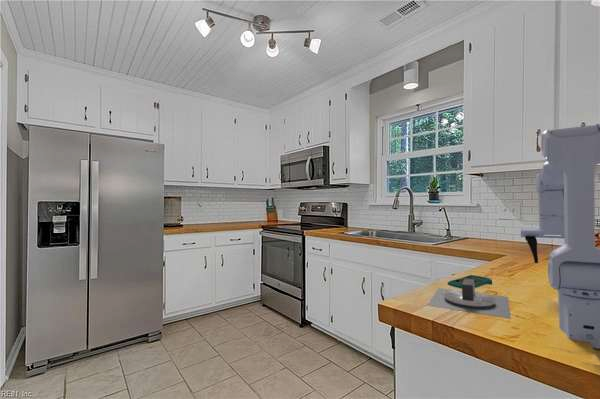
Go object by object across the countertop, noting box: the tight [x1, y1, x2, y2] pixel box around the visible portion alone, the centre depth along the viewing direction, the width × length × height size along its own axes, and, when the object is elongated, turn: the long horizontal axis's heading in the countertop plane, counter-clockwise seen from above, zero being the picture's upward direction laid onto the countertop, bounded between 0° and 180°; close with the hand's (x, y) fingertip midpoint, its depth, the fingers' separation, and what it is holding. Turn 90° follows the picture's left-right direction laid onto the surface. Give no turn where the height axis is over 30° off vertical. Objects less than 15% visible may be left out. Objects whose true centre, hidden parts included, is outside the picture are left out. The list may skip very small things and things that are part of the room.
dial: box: [444, 278, 495, 308], centre depth 82 cm, size 12×12×5 cm
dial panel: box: [427, 287, 512, 320], centre depth 82 cm, size 18×18×1 cm
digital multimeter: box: [447, 274, 493, 289], centre depth 99 cm, size 7×15×3 cm, turn 122°
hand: (553, 263), depth 85 cm, fingers open, 7 cm apart
